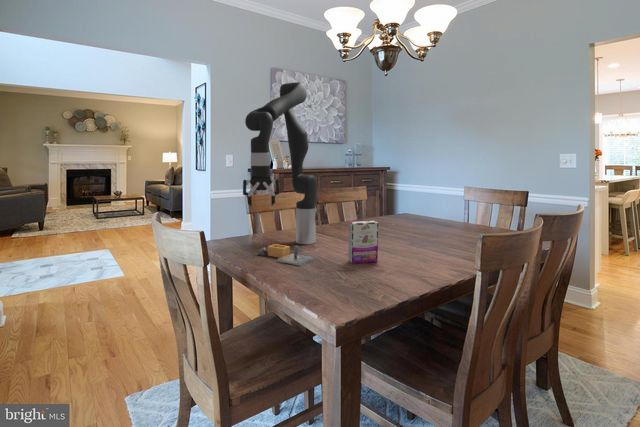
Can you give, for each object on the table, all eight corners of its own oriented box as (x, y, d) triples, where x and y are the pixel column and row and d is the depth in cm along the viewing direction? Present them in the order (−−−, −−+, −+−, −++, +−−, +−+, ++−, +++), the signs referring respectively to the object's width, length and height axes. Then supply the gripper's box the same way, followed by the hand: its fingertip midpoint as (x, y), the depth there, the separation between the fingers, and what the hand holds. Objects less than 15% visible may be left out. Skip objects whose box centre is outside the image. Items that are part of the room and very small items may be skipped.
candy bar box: (372, 259, 155) (374, 220, 152) (377, 262, 150) (379, 222, 147) (347, 260, 152) (348, 221, 149) (351, 264, 147) (352, 223, 144)
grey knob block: (264, 252, 163) (264, 246, 162) (269, 253, 161) (269, 247, 161) (258, 254, 159) (258, 248, 159) (263, 255, 158) (263, 249, 157)
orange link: (274, 252, 163) (274, 244, 162) (289, 255, 159) (289, 246, 158) (267, 255, 158) (267, 246, 158) (282, 258, 154) (282, 248, 154)
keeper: (292, 256, 157) (292, 241, 157) (314, 260, 152) (314, 245, 151) (277, 261, 149) (277, 246, 148) (300, 265, 143) (300, 250, 142)
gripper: (277, 164, 151) (278, 203, 153) (241, 164, 148) (243, 204, 150) (279, 164, 144) (280, 206, 146) (242, 165, 141) (243, 207, 143)
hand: (261, 205), depth 148 cm, fingers open, 8 cm apart
